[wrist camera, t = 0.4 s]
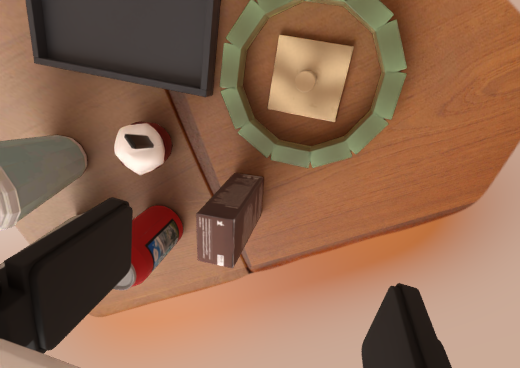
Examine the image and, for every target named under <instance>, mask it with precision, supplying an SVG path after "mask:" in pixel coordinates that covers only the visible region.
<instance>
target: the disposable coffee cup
mask: <svg viewBox="0 0 520 368" xmlns="http://www.w3.org/2000/svg"><path fill="white" fill-rule="evenodd" d="M86 167H87V156H86V154H85V152H84V150H83V148H82V147H81V145H80V144H79V143H77V142H76V141H75V140H74V139H72V138H70V137H66V136H60V135H51V136H42V137H33V138H25V139H16V140H7V141H0V231H1V230H5V229H8V228H10V227H13V226H15V225H16V222H18V221H19V220H20V219H22V218H23V217H25V216H26V215H27V214H29V213H30V212H32V211H33V210H34V209H36V208H37V207H38V206H40V205H41V204H43V203H44V202H45V201H47V200H48V199H50V198H51V197H52V196H54V195H55V194H57V193H58V192H59V191H61V190H62V189H64V188H65V187H66V186H68V185H69V184H71V183H72V182H73V181H75V180H76V179H77V178H79V177H80V176H81V175H82V173H83V172H84V171H85V169H86Z"/></svg>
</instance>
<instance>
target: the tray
mask: <svg viewBox="0 0 520 368" xmlns="http://www.w3.org/2000/svg"><path fill="white" fill-rule="evenodd" d="M220 2H221V0H26V7H27V14H28V21H29V28H30V35H31V42H32V49H33V56H34V63H36V64H41V65H46V66H51V67H56V68H61V69H66V70H72V71H77V72H82V73H87V74H92V75H97V76H102V77H107V78H112V79H117V80H122V81H127V82H132V83H137V84H143V85H148V86H153V87H158V88H163V89H168V90H173V91H178V92H183V93H188V94H193V95H198V96H203V97H207V96H211V95H212V94H213V82H214V71H215V59H216V48H217V36H218V25H219V13H220Z"/></svg>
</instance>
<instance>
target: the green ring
mask: <svg viewBox="0 0 520 368" xmlns="http://www.w3.org/2000/svg"><path fill="white" fill-rule="evenodd" d="M304 1H308V2H315V3H322V4H329V5H337V6H344V7H345V8H346V9H347V10H348V11H349V12H350V13H351V14H352V15H353V16H354V17H355V18H356V19H357V20H359V21H360V22H361V23H362V24H363V25H364V26H365V27H366V28H367V29H368V30H369V31H370V32H371V33H372V34H373V39H374V43H375V47H376V51H377V55H378V60H379V64H380V68H381V75H380V79H379V82H378V85H377V89H376V92H375V95H374V99H373V102H372V105H371V109H370V111H369V112H368V113H367V114H366V115H365V116H364V117H363V118H362V119H361V120H360V121H359V122H358V123H357V124H356V125H355V126H354V127H353V128H352V129H351V130H350V131H349V132H348V133H347V134H346V135H345V136H343V137H340V138H336V139H333V140H330V141H327V142H323V143H320V144H317V145H314V146H308V145H303V144H298V143H293V142H289V141H284V140H279V139H278V138H277V137H276V136H275V135H273V134H272V133H271V132H270V131H269V130H268V129H267V128H265V127H264V126H263V125H262V124H261V123H260V122H259V121H257V120H256V119H255V118H254V115H253V112H252V110H251V107H250V104H249V101H248V99H247V96H246V93H245V91H244V88H243V80H244V72H245V64H246V56H247V49H248V48H249V46H250V45H251V43H252V42H253V41H254V39H255V38H256V36H257V35H258V33H259V32H260V30H261V29H262V28H263V26H264V25H265V23H266V22H267V20H268V19H269V18H270V17H272V16H274V15H276V14H278V13H281V12H283V11H285V10H287V9H289V8H291V7H293V6H295V5H298V4H300V3H302V2H304ZM257 2H258V3H257ZM257 2H256V1H254V0H250V1H249V3H248V4H247V6H246V7H245V9H244V10H243V12H242V14H241V15H240V17H239V18H238V20H237V21H236V23H235V24H234V26H233V27H232V29H231V31H230V32H229V34H228V35H227V37H226V39H227V40H228V41H229V42H231V43H232V44H229V43H224V47H223V58H222V68H221V78H220V87H223V88H227V89H225V90H222V91H221V94H222V97H223V99H224V102H225V104H226V107H227V109H228V112H229V114H230V117H231V119H232V122H233V125H234V127H235V129H238V128H241V127H242V128H241V129H240V130H239V132H238V133H239V134H240V135H241V136H242V137H243V138H244V139H246V140H247V141H248V142H249V143H250V144H251V145H253V146H254V147H255V148H256V149H257V150H258V151H259V152H261V153H262V154H263V155H264V156H265V157H266V158H268V156H269V155H270V154H271V153H272V155H271V160H274V161H278V162H283V163H287V164H292V165H296V166H301V167H305V168H309V164H310V162H311V165H312V168H315V167H318V166H322V165H325V164H329V163H333V162H336V161H340V160H343V159H347V158H350V157H352V154H351V151H352V152H354V153H355V154H357V153H359V152H360V151H361V150H362V149H363V148H364V147H365V146H366V145H367V144H368V143H369V142H370V141H371V140H372V139H373V138H374V137H375V136H376V135H378V134H379V133H380V132H381V131H382V130H383V129H384V128H385V127H386V126H387V125H388V124H389V123H388V122H387V121H386V120H385V119H384V118H386V119H392V117H393V114H394V111H395V108H396V105H397V102H398V98H399V95H400V92H401V89H402V86H403V83H404V80H405V77H406V74H407V73H402V72H398V71H401V70H404V69H406V68H407V65H406V60H405V56H404V51H403V46H402V42H401V37H400V32H399V28H398V23H397V20H396V19H395V20H393V21H390V22H388V21H389V20H390V19H391V17H392V16H393V15H394V14H393V13H392V12H391V11H390V10H389V9H388V8H387V7H386V6H385V5H384V4H383V3H382V2H381V1H380V0H257ZM387 22H388V23H387Z"/></svg>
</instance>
